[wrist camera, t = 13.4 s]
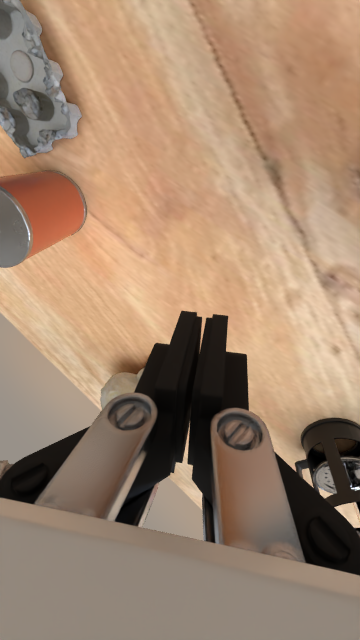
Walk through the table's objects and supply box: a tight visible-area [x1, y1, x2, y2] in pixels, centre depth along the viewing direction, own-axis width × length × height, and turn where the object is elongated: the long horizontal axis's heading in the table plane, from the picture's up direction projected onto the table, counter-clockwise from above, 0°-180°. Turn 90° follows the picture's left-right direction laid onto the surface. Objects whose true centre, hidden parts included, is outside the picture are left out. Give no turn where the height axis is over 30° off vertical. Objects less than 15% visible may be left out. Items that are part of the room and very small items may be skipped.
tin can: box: [0, 170, 87, 268], centre depth 29 cm, size 7×7×11 cm
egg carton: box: [0, 0, 82, 158], centre depth 26 cm, size 11×8×4 cm
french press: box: [295, 418, 360, 532], centre depth 36 cm, size 12×9×23 cm
